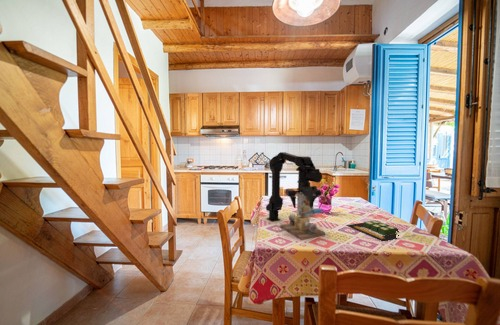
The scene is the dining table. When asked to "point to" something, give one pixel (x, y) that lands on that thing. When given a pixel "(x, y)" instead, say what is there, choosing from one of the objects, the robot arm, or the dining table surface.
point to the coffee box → (303, 204)
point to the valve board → (301, 233)
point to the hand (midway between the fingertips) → (302, 207)
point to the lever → (311, 211)
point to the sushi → (376, 230)
